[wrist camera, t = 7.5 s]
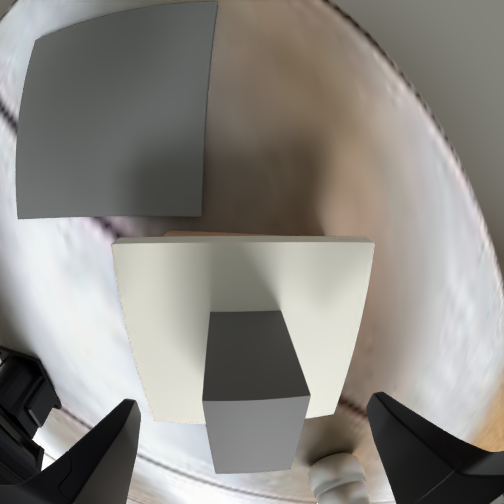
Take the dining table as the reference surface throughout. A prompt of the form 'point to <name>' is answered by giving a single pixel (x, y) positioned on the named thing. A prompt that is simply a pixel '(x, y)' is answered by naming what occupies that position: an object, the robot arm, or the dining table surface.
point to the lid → (243, 334)
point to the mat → (117, 115)
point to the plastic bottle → (339, 480)
